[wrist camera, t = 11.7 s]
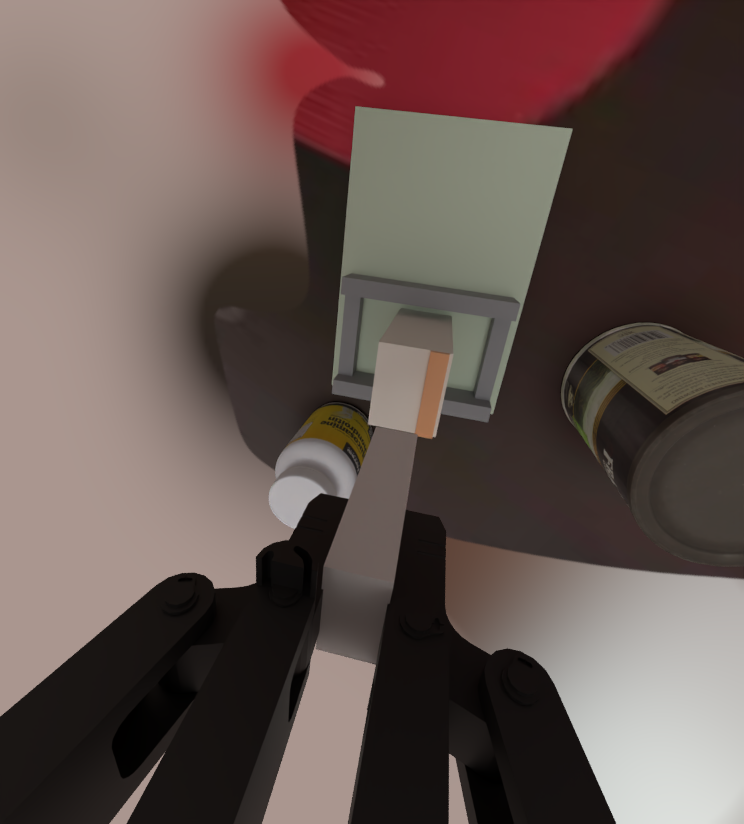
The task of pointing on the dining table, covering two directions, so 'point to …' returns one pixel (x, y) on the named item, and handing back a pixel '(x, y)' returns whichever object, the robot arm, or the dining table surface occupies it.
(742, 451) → the coffee can
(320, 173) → the dining table surface
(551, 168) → the board
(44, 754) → the robot arm
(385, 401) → the white orange rectangular block
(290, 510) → the pill bottle
